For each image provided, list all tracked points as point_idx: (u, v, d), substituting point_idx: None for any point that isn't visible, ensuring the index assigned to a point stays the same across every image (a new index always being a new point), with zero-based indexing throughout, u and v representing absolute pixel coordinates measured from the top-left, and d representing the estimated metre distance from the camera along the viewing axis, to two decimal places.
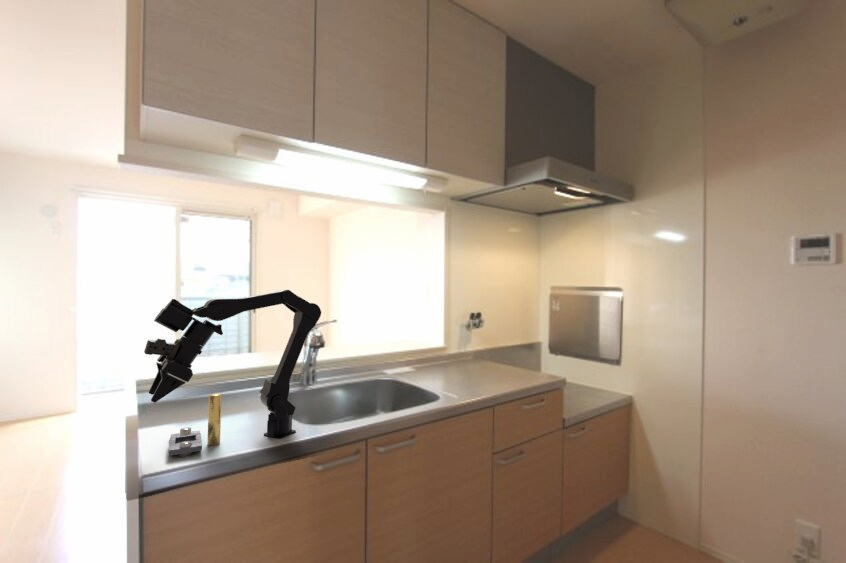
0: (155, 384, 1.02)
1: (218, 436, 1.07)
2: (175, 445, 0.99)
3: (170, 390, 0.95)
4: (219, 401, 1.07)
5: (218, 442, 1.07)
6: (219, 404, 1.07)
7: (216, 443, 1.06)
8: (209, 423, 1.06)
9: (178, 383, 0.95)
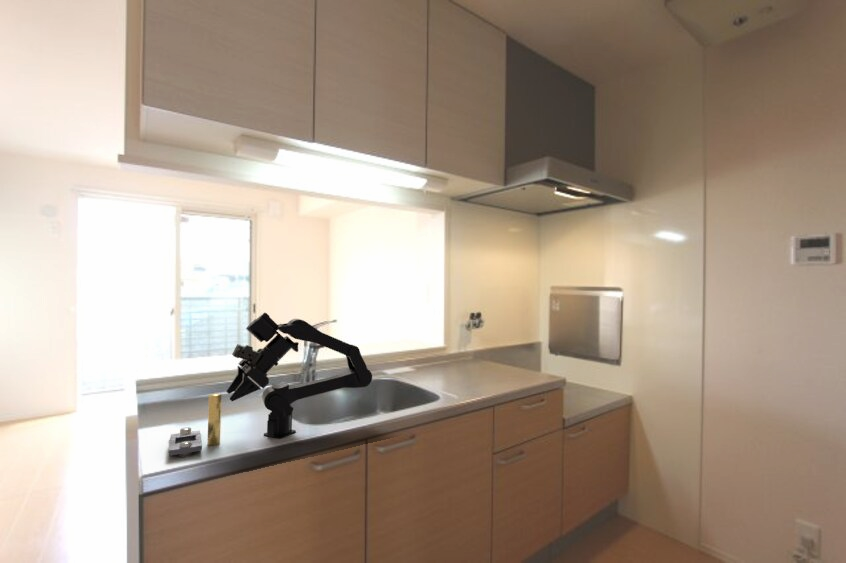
0: (233, 385, 1.14)
1: (218, 436, 1.07)
2: (175, 445, 0.99)
3: (247, 393, 1.06)
4: (219, 401, 1.07)
5: (218, 442, 1.07)
6: (219, 404, 1.07)
7: (216, 443, 1.06)
8: (209, 423, 1.06)
9: (254, 388, 1.07)
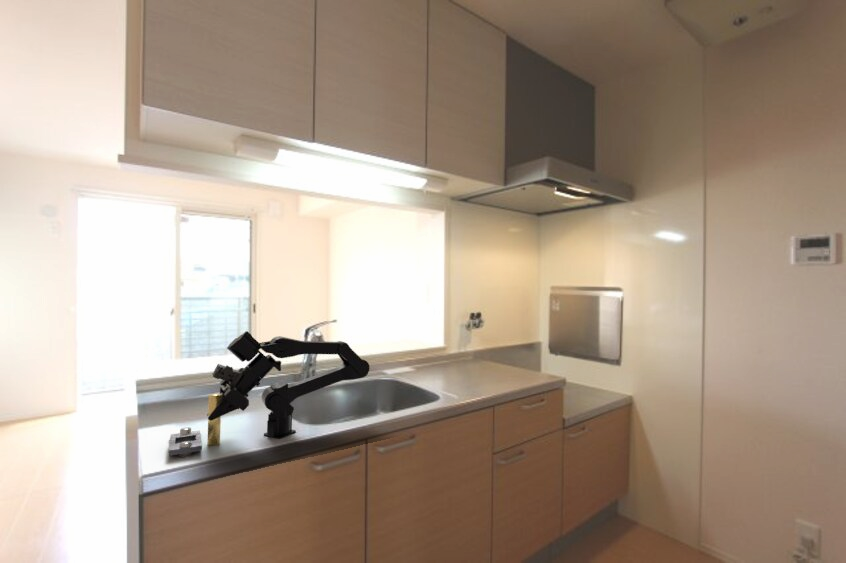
0: None
1: (218, 436, 1.07)
2: (175, 445, 0.99)
3: (225, 412, 1.06)
4: (219, 401, 1.07)
5: (218, 442, 1.07)
6: None
7: (216, 443, 1.06)
8: (209, 423, 1.06)
9: (233, 407, 1.07)
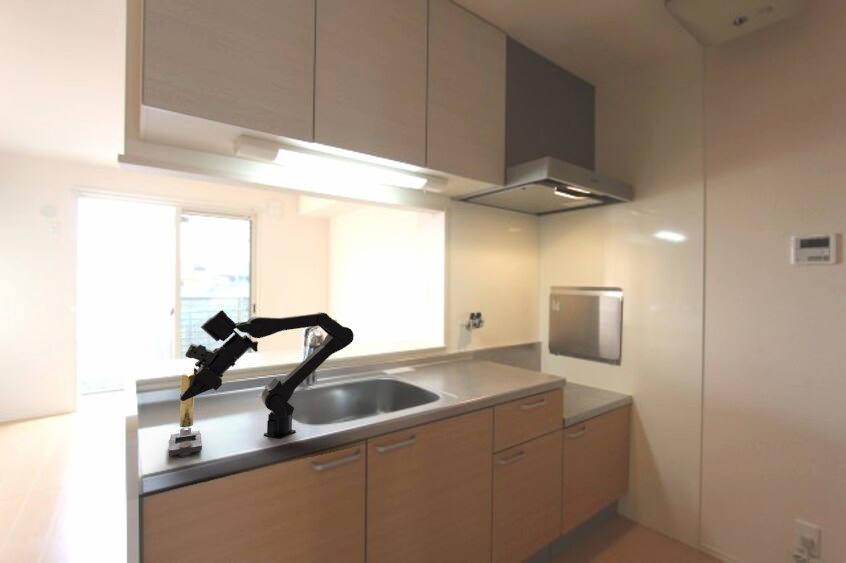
0: None
1: (191, 417, 1.04)
2: (175, 445, 0.99)
3: (198, 392, 1.03)
4: (192, 381, 1.04)
5: (191, 424, 1.04)
6: None
7: (189, 424, 1.03)
8: (181, 404, 1.03)
9: (206, 387, 1.03)
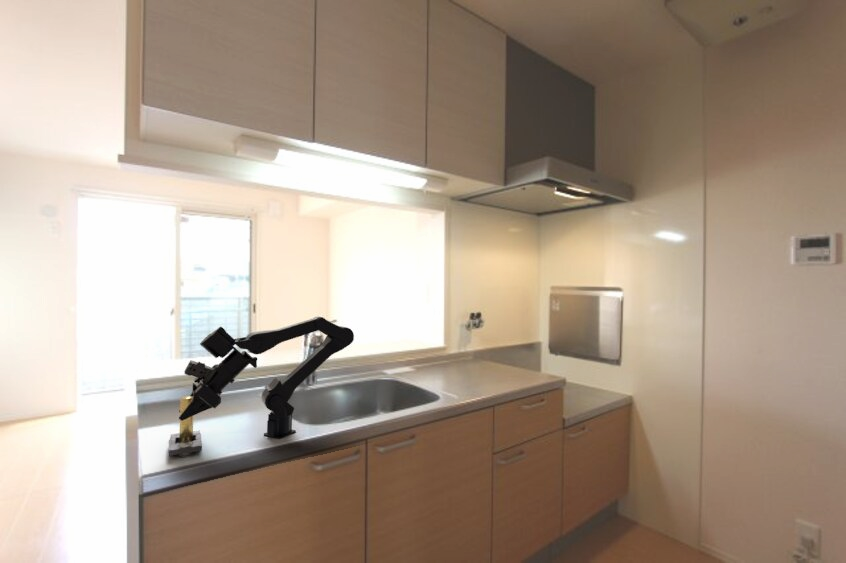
0: None
1: (190, 440, 1.04)
2: (175, 445, 0.99)
3: (197, 411, 1.01)
4: None
5: None
6: None
7: None
8: (181, 427, 1.03)
9: (206, 406, 1.02)
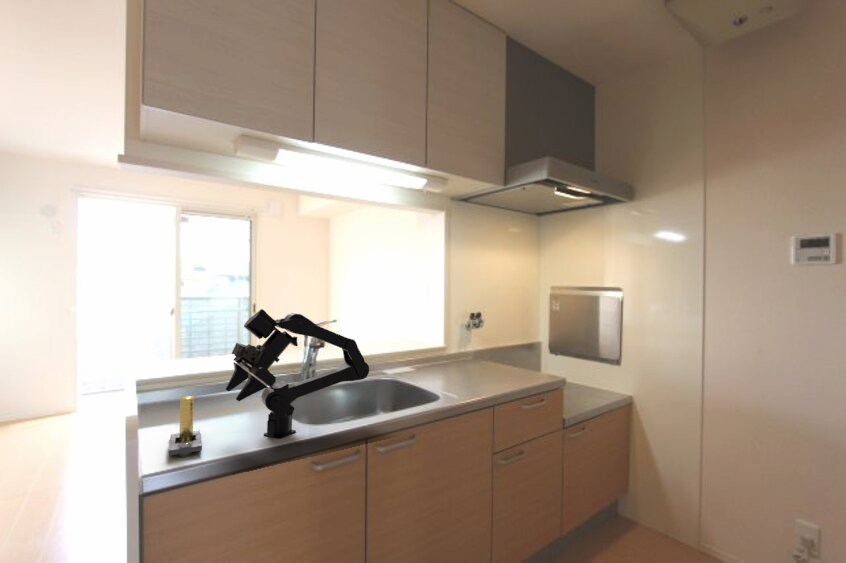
0: (232, 382, 1.13)
1: (190, 440, 1.03)
2: (175, 445, 0.99)
3: (253, 392, 1.07)
4: (191, 404, 1.04)
5: None
6: (191, 407, 1.04)
7: None
8: (180, 427, 1.03)
9: (261, 387, 1.07)
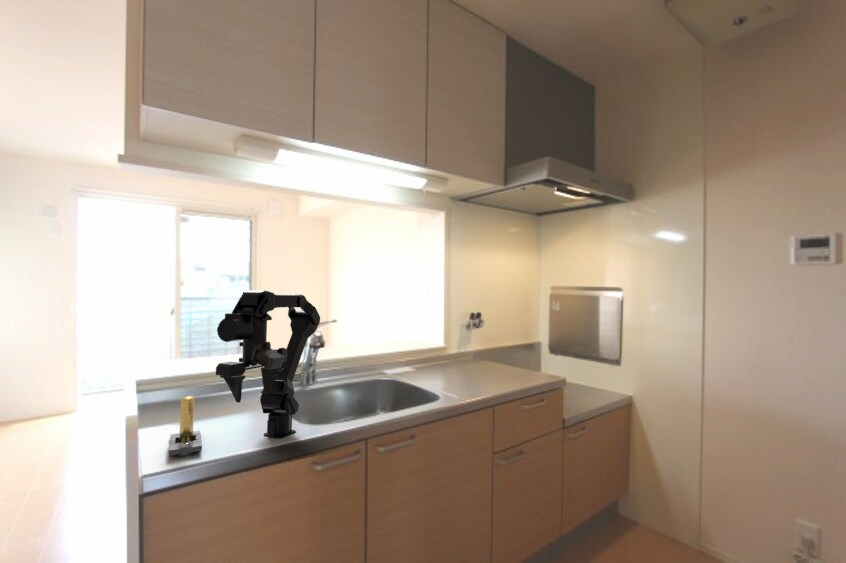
0: None
1: (190, 440, 1.04)
2: (175, 445, 0.99)
3: None
4: (191, 404, 1.04)
5: None
6: (191, 407, 1.04)
7: None
8: (181, 427, 1.03)
9: None
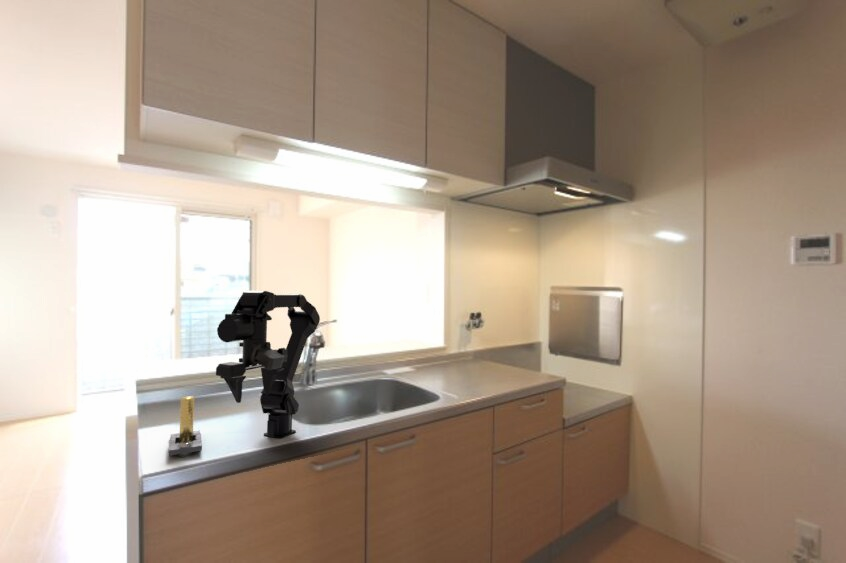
0: None
1: (190, 440, 1.03)
2: (175, 445, 0.99)
3: None
4: (191, 404, 1.04)
5: None
6: (191, 407, 1.04)
7: None
8: (181, 427, 1.03)
9: None
